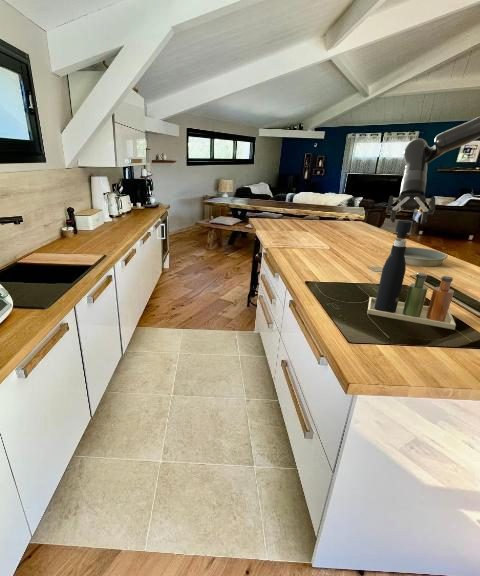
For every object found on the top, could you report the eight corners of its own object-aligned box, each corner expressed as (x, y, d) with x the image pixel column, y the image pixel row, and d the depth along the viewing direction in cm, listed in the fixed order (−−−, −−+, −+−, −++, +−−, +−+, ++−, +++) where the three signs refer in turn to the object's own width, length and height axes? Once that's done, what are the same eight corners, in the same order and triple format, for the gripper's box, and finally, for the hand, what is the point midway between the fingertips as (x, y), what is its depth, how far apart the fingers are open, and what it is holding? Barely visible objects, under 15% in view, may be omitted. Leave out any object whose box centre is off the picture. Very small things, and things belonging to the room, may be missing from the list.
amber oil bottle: (443, 317, 101) (456, 276, 96) (446, 323, 97) (459, 281, 92) (425, 313, 104) (436, 274, 99) (426, 319, 100) (438, 278, 95)
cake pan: (390, 264, 157) (392, 255, 156) (386, 252, 178) (387, 245, 176) (451, 270, 147) (454, 261, 146) (438, 257, 168) (441, 249, 166)
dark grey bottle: (373, 304, 111) (391, 219, 101) (394, 307, 109) (415, 220, 98) (374, 311, 106) (393, 222, 95) (396, 314, 103) (419, 223, 93)
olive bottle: (419, 313, 104) (430, 273, 99) (420, 318, 100) (432, 277, 95) (401, 309, 107) (411, 271, 102) (402, 315, 103) (412, 275, 98)
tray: (447, 315, 104) (449, 309, 103) (454, 331, 94) (456, 325, 93) (368, 301, 115) (369, 296, 114) (367, 314, 105) (368, 309, 104)
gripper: (392, 178, 115) (385, 214, 110) (440, 178, 108) (435, 216, 103) (389, 192, 121) (382, 226, 116) (434, 193, 114) (429, 229, 109)
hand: (407, 221), depth 110 cm, fingers open, 8 cm apart
